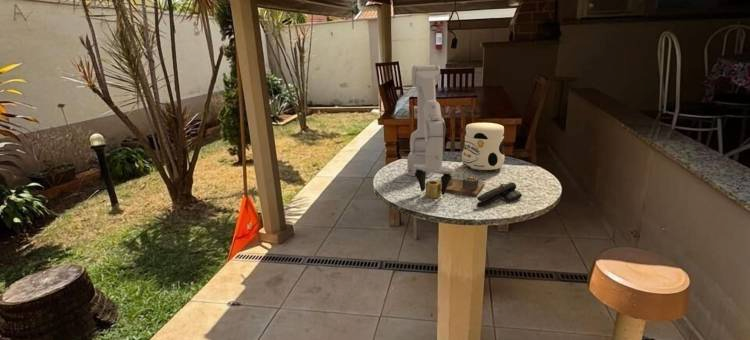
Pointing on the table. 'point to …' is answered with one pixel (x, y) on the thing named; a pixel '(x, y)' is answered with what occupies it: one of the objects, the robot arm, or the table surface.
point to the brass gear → (433, 189)
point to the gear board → (460, 188)
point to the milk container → (483, 147)
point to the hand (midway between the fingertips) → (433, 192)
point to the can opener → (499, 194)
